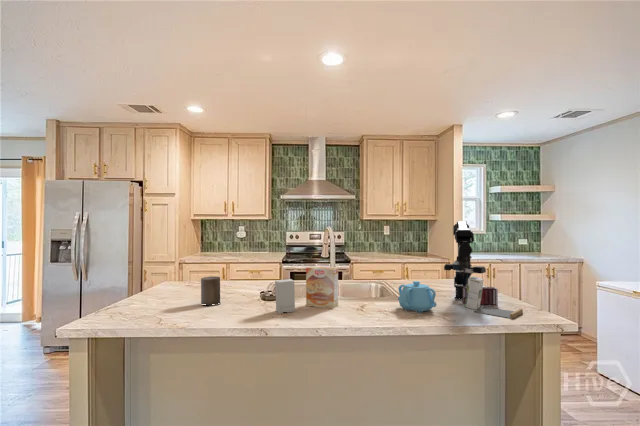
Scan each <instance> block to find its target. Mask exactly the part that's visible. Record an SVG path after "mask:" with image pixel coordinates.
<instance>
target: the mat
mask: <svg viewBox="0 0 640 426" xmlns="http://www.w3.org/2000/svg"><path fill="white" fill-rule="evenodd" d="M523 311H524V310H523V308H518V309H516V310H514V311H513V310H508V309H503V308H496V307H495V308H494V307H491V306H489V307H487V306H483V307H480V308H479V309H477V310H473V313H476V314H477V313H478V314H484V315H487V316H494V317H500V318H506V319H510V318H511V320H513V319H515V317H516V318H517V317H520V316H521V315H523V314H522V313H524V312H523Z"/></svg>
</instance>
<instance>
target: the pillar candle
mask: <svg viewBox="0 0 640 426" xmlns="http://www.w3.org/2000/svg"><path fill="white" fill-rule="evenodd" d="M200 303H201V304H206V305H212V304H218V303H220V304H221V277H220V276H204V277H200ZM201 304H200V305H201Z"/></svg>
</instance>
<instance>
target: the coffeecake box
mask: <svg viewBox="0 0 640 426" xmlns="http://www.w3.org/2000/svg"><path fill="white" fill-rule="evenodd" d="M305 274H306V275H305V280H306V281H305V286H306V287H305V288H306V291H305V296H306V297H305V301H306V307H310V306H314V307H313V308H321V307H325V308H324V309H332V308H334V309H335V308H337V307H338V306H339V267H336V266H333V267H332V266H318V265H317V266H316V265H315V266H314V265H312V266H307V267H306V268H305Z"/></svg>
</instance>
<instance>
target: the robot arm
mask: <svg viewBox="0 0 640 426" xmlns="http://www.w3.org/2000/svg"><path fill="white" fill-rule="evenodd" d="M467 222H468V221H467V220H458V221H456V223H455V224H454V225H453V229H452V233H453V234H452V235H453V236H454V240H455V243H456V244H457V255H456V260H455V261H454V262H452V263H447V264H445V265H444V267H443V270H444V271H451V270H453V271H454V273H455V275H454V276H453V287H454V288H455V296H454V299H456V300H457V299H458V300H463V287H467V285H468V278H470V277H472V274H485V273H486V272H487V270H486V267H485V266H484V265H483V266H481V265H479V266H478V265H476V266H472V265H473V264H471V262H472V261H471V259H472V256H471V254H472V252H473V248H472V246H471V244H473V243H474V241H475V236H474V233H473V231H472V230H471V228H470V225H469V224H468V223H467Z"/></svg>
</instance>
